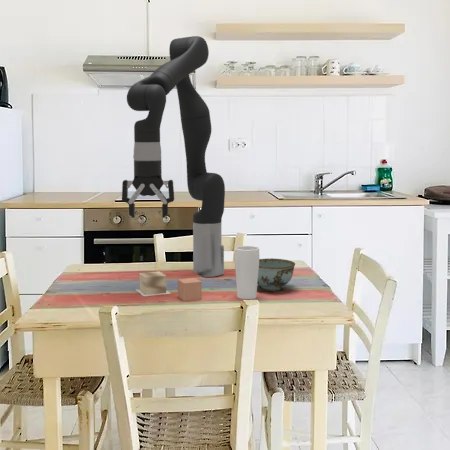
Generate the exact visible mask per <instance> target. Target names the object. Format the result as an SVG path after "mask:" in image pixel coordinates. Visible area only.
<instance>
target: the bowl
mask: <svg viewBox="0 0 450 450" xmlns="http://www.w3.org/2000/svg"><path fill="white" fill-rule="evenodd" d="M295 266H296V262H294V261H292V260H290V259H289V260H288V259H283V258H259V272H258V283H257V286H258V285H259V286H260V287H261V290H263V291H267V292H278V291H281V290H282V289H283V287H284V286H285V285H287V284H288V283H289V282H290V281H291V279H292V277H293V275H294V269H295Z"/></svg>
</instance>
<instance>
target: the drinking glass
mask: <svg viewBox="0 0 450 450" xmlns="http://www.w3.org/2000/svg"><path fill="white" fill-rule="evenodd" d="M259 259H260V248H259V247H258V246H254V245H240V246H236V247H235V248H234V269H235V271H234V272H235V282H236V297H237V298H238V299H240V300H245V299H250V300H255V299H257V297H258V295H257V293H258V284H257V283H258V272H259Z"/></svg>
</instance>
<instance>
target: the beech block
mask: <svg viewBox="0 0 450 450" xmlns="http://www.w3.org/2000/svg"><path fill="white" fill-rule="evenodd" d="M139 289H140V291H141V292H143V293H144V294H145V295H151V294H160V293H166V290H167V275H166V274H165V273H163V272H162V271H148V272H141V273H140V272H139Z"/></svg>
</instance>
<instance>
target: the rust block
mask: <svg viewBox="0 0 450 450" xmlns="http://www.w3.org/2000/svg"><path fill="white" fill-rule="evenodd" d="M177 297H178V299H180V300H182V301H183V302H188V301H189V302H190V301H199V300H202V281H201V280H199V279H198V278H195V277H189V278H180V279H177Z"/></svg>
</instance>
